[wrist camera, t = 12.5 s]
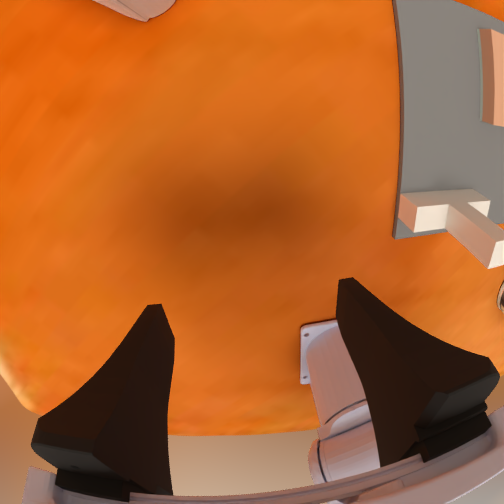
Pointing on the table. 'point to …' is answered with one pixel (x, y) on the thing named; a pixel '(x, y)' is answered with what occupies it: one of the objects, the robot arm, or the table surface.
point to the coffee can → (501, 298)
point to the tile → (491, 76)
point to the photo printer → (138, 7)
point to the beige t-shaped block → (456, 220)
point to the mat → (445, 106)
